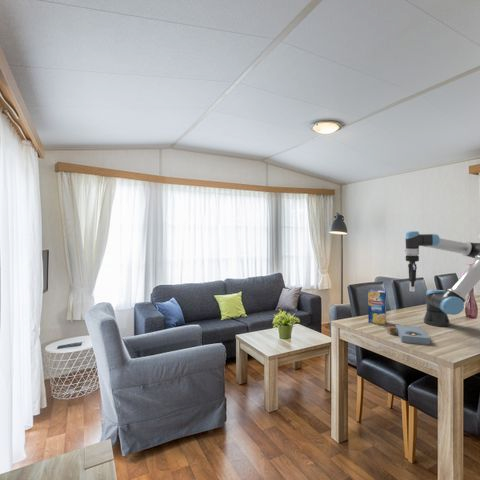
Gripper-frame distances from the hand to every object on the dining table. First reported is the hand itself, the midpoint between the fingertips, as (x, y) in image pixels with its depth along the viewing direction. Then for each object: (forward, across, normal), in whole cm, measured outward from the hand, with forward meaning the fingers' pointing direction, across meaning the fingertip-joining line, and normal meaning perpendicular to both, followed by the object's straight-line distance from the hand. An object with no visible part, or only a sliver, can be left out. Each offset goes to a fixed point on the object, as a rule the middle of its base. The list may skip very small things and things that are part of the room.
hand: (412, 291), depth 196 cm
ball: (+23, +23, -4) cm, 32 cm away
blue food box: (+25, -10, -20) cm, 33 cm away
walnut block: (+25, +14, -14) cm, 32 cm away
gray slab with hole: (+24, +18, -4) cm, 31 cm away
